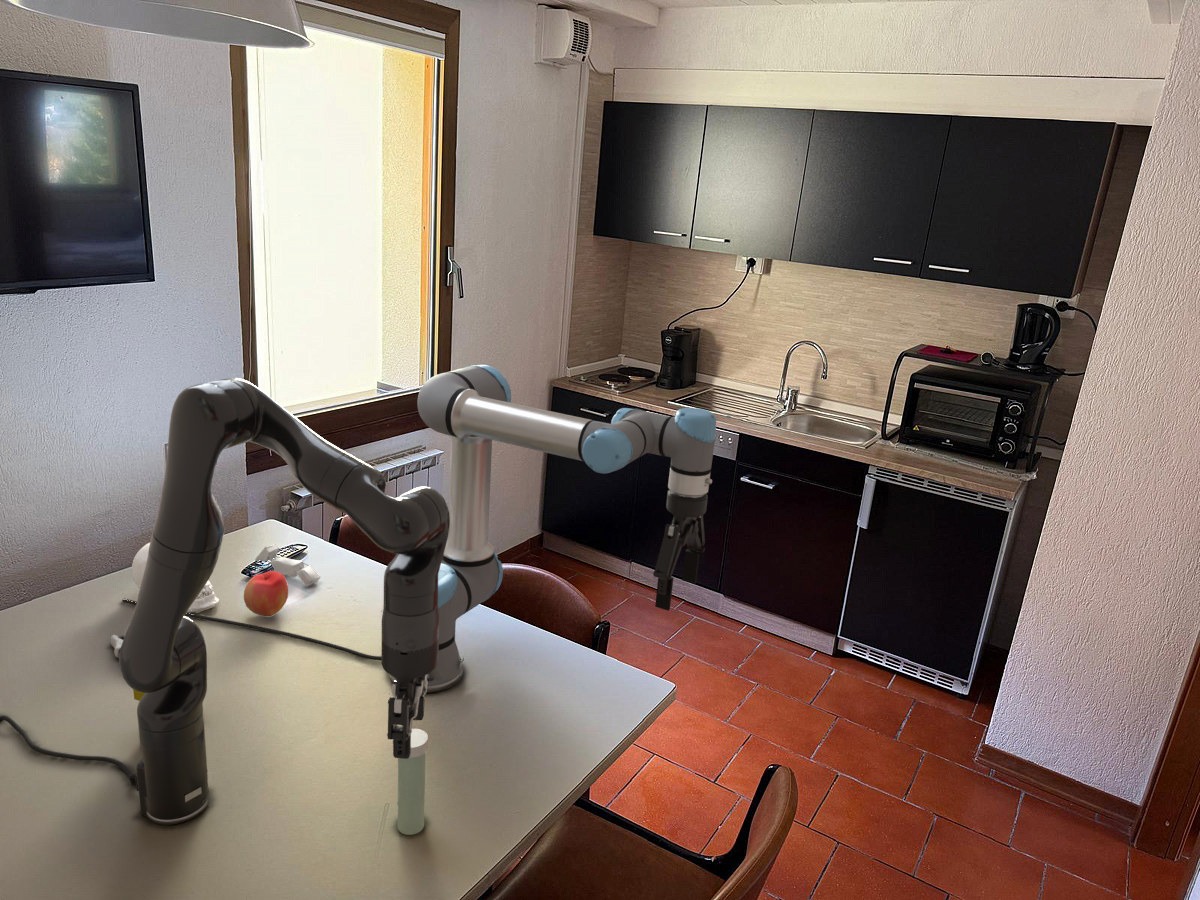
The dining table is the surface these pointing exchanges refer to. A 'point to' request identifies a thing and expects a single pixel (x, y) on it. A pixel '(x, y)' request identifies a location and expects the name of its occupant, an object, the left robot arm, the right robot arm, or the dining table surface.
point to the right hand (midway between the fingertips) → (676, 594)
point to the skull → (199, 603)
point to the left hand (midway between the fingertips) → (409, 737)
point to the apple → (266, 593)
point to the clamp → (288, 565)
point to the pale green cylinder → (411, 794)
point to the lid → (418, 743)
